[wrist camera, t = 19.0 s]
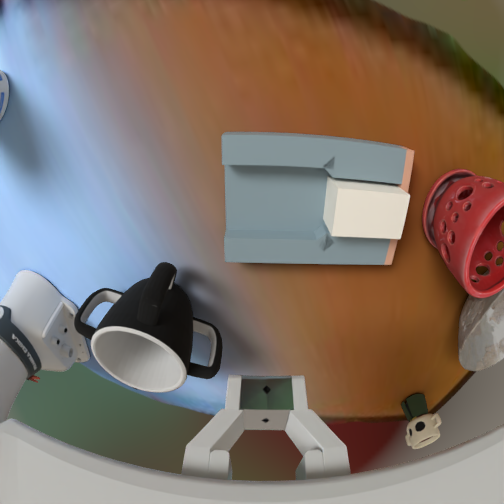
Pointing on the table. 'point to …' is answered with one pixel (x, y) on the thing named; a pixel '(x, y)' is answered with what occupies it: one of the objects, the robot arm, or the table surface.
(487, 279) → the plant pot
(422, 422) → the character mug
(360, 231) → the cream block
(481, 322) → the ceramic bowl
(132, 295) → the mug
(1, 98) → the supplement tub
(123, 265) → the table surface
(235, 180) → the channel dock
